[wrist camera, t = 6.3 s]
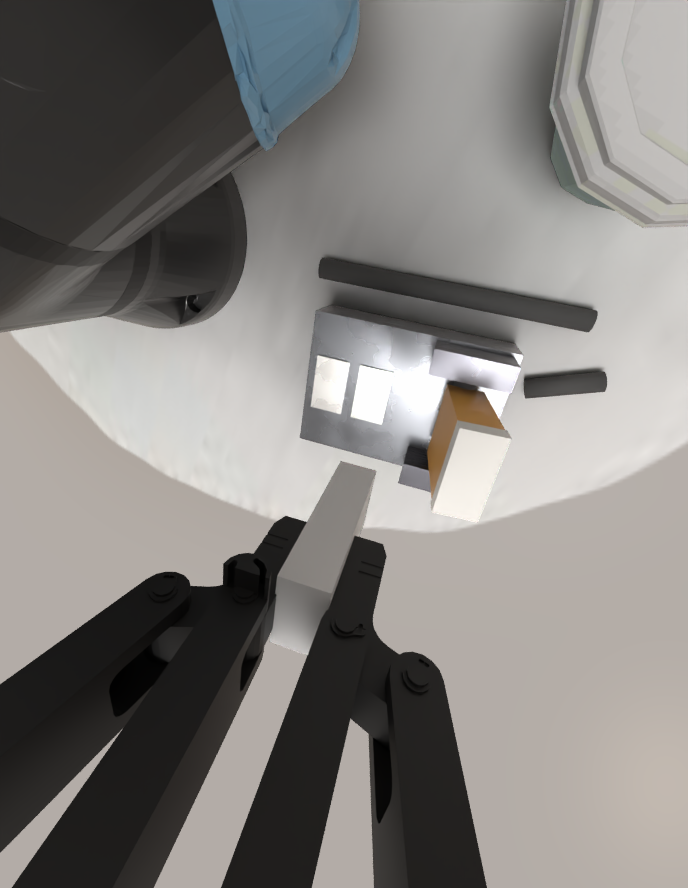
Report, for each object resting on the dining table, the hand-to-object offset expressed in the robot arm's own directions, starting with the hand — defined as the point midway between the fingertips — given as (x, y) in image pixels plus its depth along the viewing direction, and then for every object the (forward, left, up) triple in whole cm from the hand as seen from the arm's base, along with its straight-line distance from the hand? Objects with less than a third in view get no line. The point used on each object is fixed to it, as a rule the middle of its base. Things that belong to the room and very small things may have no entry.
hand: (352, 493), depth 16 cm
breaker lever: (+4, 0, -12) cm, 13 cm away
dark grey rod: (+2, +7, -17) cm, 19 cm away
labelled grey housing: (0, 0, -17) cm, 17 cm away
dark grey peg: (+11, +3, -17) cm, 21 cm away
